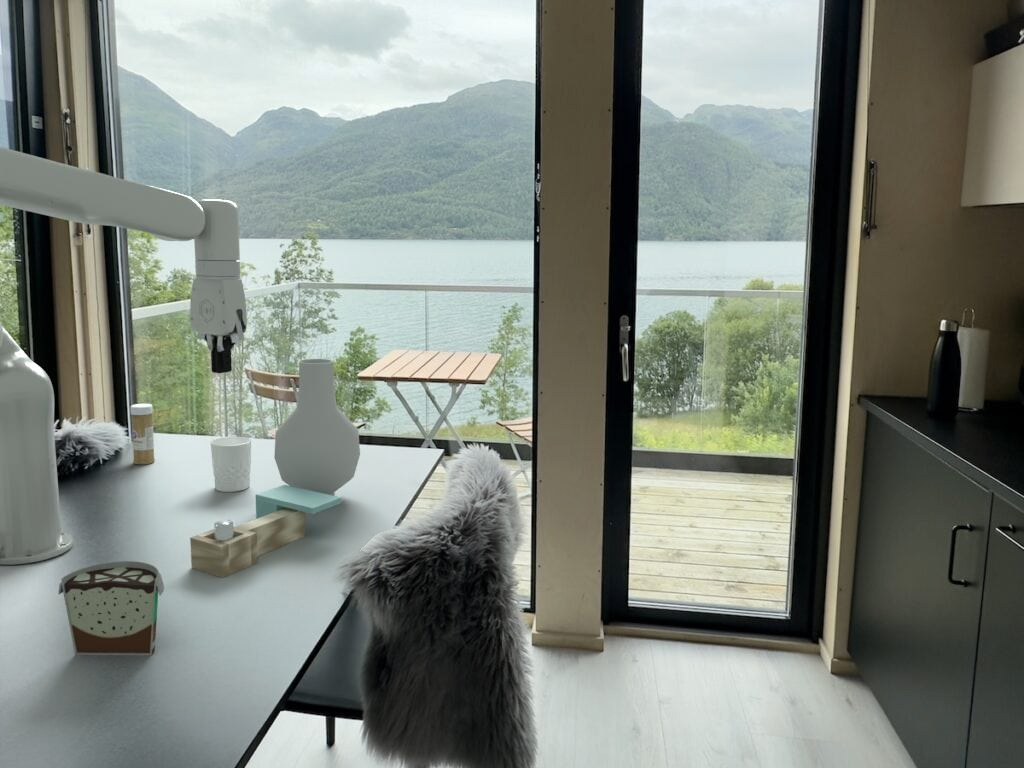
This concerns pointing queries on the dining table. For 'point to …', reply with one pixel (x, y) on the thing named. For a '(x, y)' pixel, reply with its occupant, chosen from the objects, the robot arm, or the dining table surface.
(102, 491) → the dining table surface
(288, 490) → the keeper
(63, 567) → the dining table surface
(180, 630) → the dining table surface
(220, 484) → the white cup
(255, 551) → the link
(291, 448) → the vase
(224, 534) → the post
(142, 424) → the sprinkles bottle
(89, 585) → the food container
